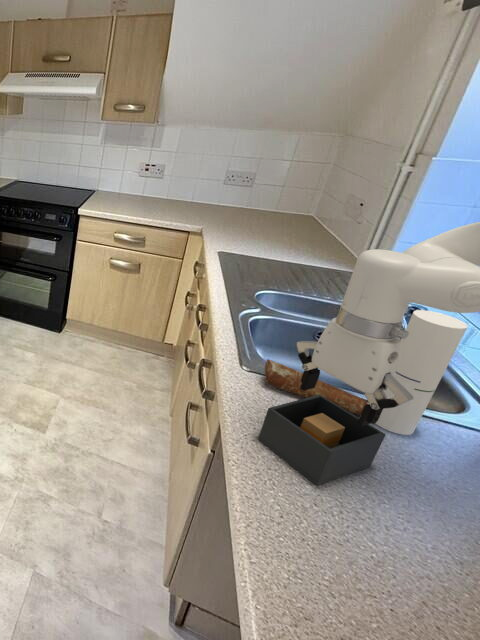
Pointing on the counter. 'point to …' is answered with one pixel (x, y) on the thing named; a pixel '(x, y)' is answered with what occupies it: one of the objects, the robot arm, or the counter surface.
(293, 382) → the bread
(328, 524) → the counter surface
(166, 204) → the counter surface
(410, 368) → the cylindrical container
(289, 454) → the bin
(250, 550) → the counter surface
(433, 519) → the counter surface
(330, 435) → the carton
